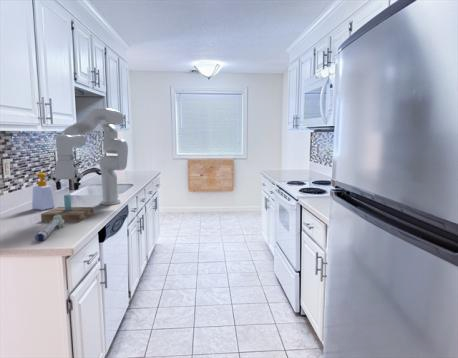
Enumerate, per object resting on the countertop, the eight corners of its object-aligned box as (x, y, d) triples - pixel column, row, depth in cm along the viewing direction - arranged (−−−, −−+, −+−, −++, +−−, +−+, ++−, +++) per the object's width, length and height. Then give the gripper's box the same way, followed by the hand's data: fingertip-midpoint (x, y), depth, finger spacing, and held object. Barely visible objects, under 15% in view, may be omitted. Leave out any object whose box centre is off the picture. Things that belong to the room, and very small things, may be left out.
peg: (67, 216, 177) (65, 194, 175) (73, 216, 176) (71, 194, 175) (64, 217, 173) (62, 195, 172) (70, 217, 173) (68, 195, 172)
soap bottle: (24, 210, 189) (21, 173, 186) (45, 206, 202) (43, 171, 199) (35, 212, 186) (32, 174, 183) (56, 207, 198) (53, 172, 195)
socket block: (59, 213, 184) (58, 206, 183) (93, 214, 183) (93, 207, 183) (41, 221, 167) (40, 214, 166) (79, 222, 166) (78, 214, 166)
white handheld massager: (32, 233, 134) (53, 211, 158) (34, 248, 136) (55, 224, 160) (45, 233, 135) (64, 211, 159) (47, 247, 137) (66, 224, 161)
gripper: (84, 157, 174) (86, 188, 177) (53, 157, 175) (55, 188, 177) (77, 158, 167) (80, 191, 170) (45, 158, 167) (48, 190, 170)
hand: (67, 189), depth 173 cm, fingers open, 9 cm apart
